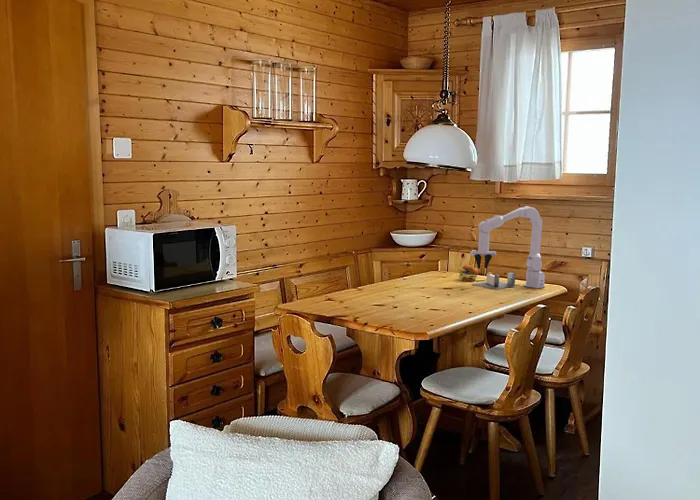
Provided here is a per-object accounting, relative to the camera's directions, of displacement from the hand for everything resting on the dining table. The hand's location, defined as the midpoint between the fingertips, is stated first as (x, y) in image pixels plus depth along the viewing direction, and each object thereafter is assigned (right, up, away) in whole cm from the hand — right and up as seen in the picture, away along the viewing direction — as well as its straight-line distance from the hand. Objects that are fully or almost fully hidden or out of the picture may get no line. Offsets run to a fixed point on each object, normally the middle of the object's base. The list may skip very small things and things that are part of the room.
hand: (482, 268), depth 381 cm
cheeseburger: (-5, -8, +16) cm, 18 cm away
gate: (+5, -9, 0) cm, 10 cm away
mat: (+7, -10, +1) cm, 12 cm away
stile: (+16, -9, +1) cm, 18 cm away
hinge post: (+6, -11, -6) cm, 14 cm away
